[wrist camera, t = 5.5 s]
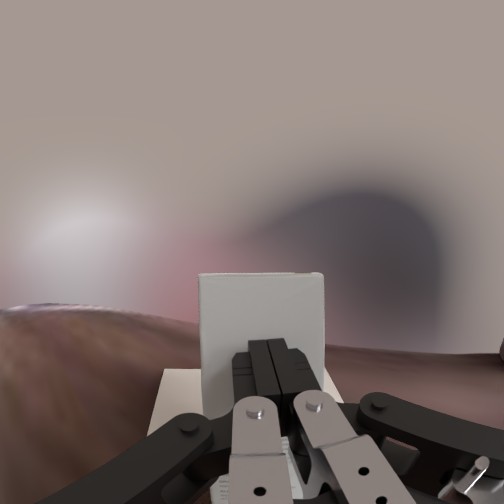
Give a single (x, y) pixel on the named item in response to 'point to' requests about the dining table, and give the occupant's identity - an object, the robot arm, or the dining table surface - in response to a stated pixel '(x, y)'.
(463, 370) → the dining table surface
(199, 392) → the mat
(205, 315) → the skincare box
